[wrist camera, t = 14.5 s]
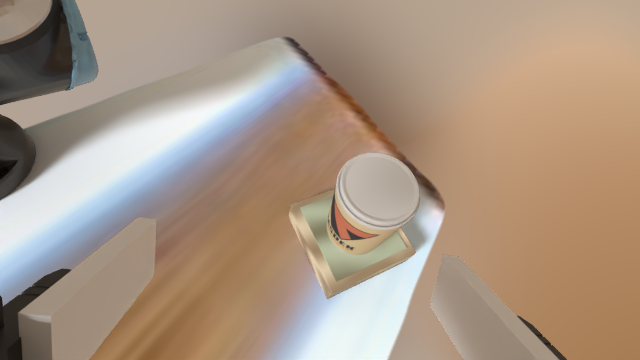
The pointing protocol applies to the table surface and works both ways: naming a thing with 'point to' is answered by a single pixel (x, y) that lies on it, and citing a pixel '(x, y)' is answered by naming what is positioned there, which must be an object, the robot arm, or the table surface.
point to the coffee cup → (371, 202)
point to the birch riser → (331, 262)
